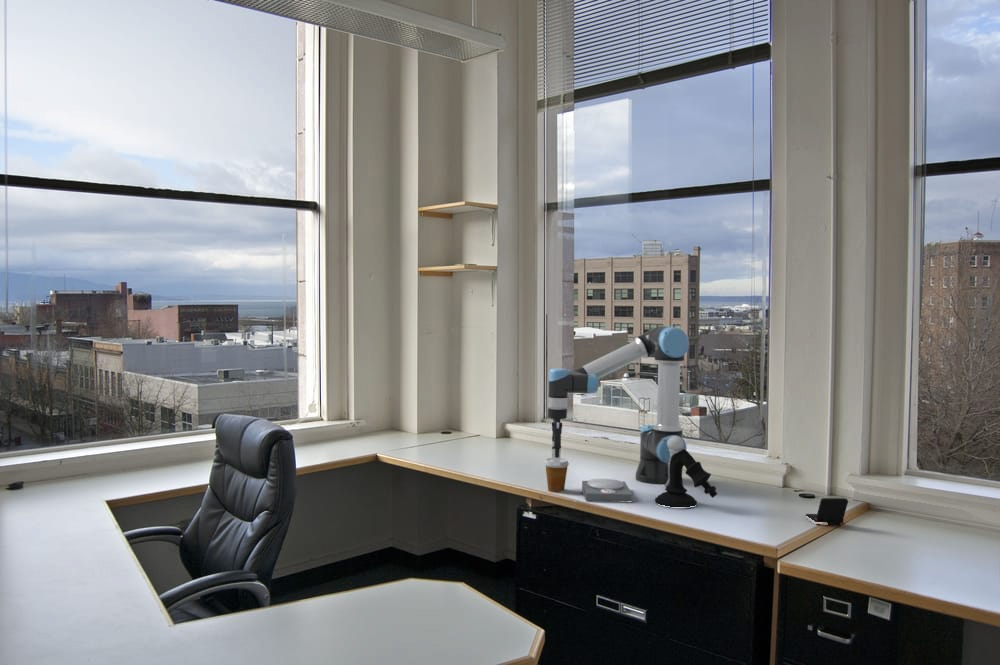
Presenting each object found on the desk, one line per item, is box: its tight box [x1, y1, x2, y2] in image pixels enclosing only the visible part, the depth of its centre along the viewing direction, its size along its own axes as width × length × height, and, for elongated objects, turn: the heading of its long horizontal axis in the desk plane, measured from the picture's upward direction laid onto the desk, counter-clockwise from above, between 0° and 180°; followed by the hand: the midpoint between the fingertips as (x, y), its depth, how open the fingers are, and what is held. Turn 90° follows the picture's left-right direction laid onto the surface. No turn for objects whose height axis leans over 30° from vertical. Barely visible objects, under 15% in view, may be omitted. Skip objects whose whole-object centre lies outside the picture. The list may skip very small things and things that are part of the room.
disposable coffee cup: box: [543, 457, 569, 493], centre depth 295 cm, size 10×10×12 cm
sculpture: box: [654, 436, 719, 507], centre depth 275 cm, size 15×24×25 cm, turn 48°
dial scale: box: [581, 478, 633, 502], centre depth 289 cm, size 17×20×4 cm
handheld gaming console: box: [805, 497, 849, 527], centre depth 256 cm, size 9×12×10 cm
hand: (555, 462), depth 295 cm, fingers open, 13 cm apart
